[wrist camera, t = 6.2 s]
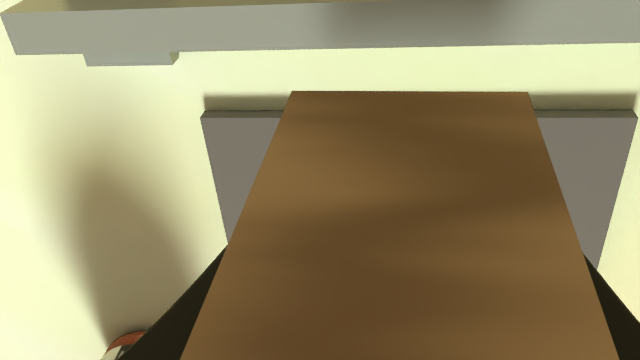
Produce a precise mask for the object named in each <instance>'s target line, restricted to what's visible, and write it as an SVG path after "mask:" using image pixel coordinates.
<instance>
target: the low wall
mask: <svg viewBox="0 0 640 360" xmlns="http://www.w3.org/2000/svg"><path fill="white" fill-rule="evenodd" d="M0 16H1V19H2V21H3V24H4V26H5V29H6V31H7V34H8V36H9V39H10V41H11V44H12V46H13V49H14V51H15V54H16V55H40V54H83V56H84V59H85V62H86V65H87V66H138V65H173V64H174V62H175V61H176V60H177V59H178V58H179V57H178V53H177V52H192V51H242V50H293V49H343V48H393V47H444V46H494V45H545V44H595V43H640V0H23V1H21V2H19V3H17V4H16V5H14V6H12V7H10V8H8V9H7V10H5V11H3V12H1V13H0Z"/></svg>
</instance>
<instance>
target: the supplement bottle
mask: <svg viewBox="0 0 640 360" xmlns="http://www.w3.org/2000/svg"><path fill="white" fill-rule="evenodd" d="M144 333H145V332H135V333H130V334H127V335H124V336H122V337H120V338H118V339H116V340H115V341H114V342H113V343H112V344H111V345H110V346H109V348H108V349H107V351H106V353H105V354H104V356H103V357H102V359H101V360H117V359H118V358H119V357H120V356H121V355H122V354H123V353H125V352H126V351H127V350H128V349H129V348H130V347H131V346H132V345H133V344H134V343H135V342H136V341H137V340H138V339H139V338H140V337H141V336H142V335H143V334H144Z"/></svg>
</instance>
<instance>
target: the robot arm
mask: <svg viewBox="0 0 640 360" xmlns="http://www.w3.org/2000/svg"><path fill="white" fill-rule="evenodd" d="M227 246H228V245H227ZM227 246H226V247H225V248H224V249H223V250H222V252H221V253H220V254H219V255H218V256H217V257H216V259H215V260H214V261H213V262H212V263H211V264H210V265H209V266H208V268H207V269H206V270H205V271H204V272H203V273H202V274H201V275H200V277H199V278H198V279H197V280H196V281H195V282H194V283H193V284H192V285H191V286H190V287H189V288H188V290H187V291H186V292H185V293H184V294H183V295H182V296H181V297H180V298H179V299H178V300H177V301H176V302H175V303H174V304H173V306H172V307H171V308H170V309H169V310H168V311H167V312H166V313H165V314H164V315H163V316H162V317H161V318H160V319H159V320H158V321H157V322H156V323H155V324H154V325H153V326H152V327H151V328H150V329H148V330H147V331H146V332H145V333H144V334H143V335H142V336H141V337H140V338H139V339H138V340H137V341H136V342H135V343H134V344H133V345H132V346H131V347H130V348H129V349H128V350H127V351H126V352H125V353H123V354H122V355H121V356H120V357H119V358H118V359H117V360H180V358H181V356H182V354H183V351H184V349H185V346H186V344H187V342H188V339H189V337H190V334H191V332H192V330H193V327H194V325H195V322H196V320H197V318H198V315H199V313H200V310H201V308H202V306H203V303H204V301H205V298H206V296H207V294H208V291H209V289H210V286H211V284H212V282H213V279H214V277H215V274H216V272H217V270H218V267H219V265H220V262H221V260H222V258H223V255H224V253H225V250H226V248H227ZM583 255H584V258H585V261H586V264H587V267H588V270H589V273H590V275H591V278H592V281H593V284H594V287H595V290H596V293H597V296H598V299H599V302H600V305H601V307H602V310H603V313H604V316H605V319H606V322H607V325H608V328H609V331H610V334H611V337H612V339H613V342H614V345H615V348H616V351H617V354H618V357H619V360H640V323H639V321H638V320H637V319H636V318H635V317H634V315H633V314H632V313H631V312H630V311H629V310H628V308H627V307H626V306H625V305H624V303H623V302H622V301H621V300H620V299H619V297H618V296H617V295H616V294H615V292H614V291H613V290H612V289H611V287H610V286H609V285H608V284H607V282H606V281H605V280H604V279H603V277H602V276H601V275H600V274H599V272H598V271H597V270H596V268H595V267H594V266H593V265H592V263H591V262H590V261H589V259H588V258H587V257H586V256H585V254H584V253H583Z"/></svg>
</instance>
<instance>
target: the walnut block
mask: <svg viewBox="0 0 640 360" xmlns="http://www.w3.org/2000/svg"><path fill="white" fill-rule="evenodd" d="M180 360H619V357H618V354H617V351H616V348H615V345H614V342H613V339H612V337H611V334H610V331H609V328H608V325H607V322H606V319H605V316H604V313H603V310H602V307H601V305H600V302H599V299H598V296H597V293H596V290H595V287H594V284H593V281H592V278H591V275H590V273H589V270H588V267H587V264H586V261H585V258H584V255H583V252H582V249H581V246H580V243H579V240H578V238H577V235H576V232H575V229H574V226H573V223H572V220H571V217H570V214H569V211H568V208H567V206H566V203H565V200H564V197H563V194H562V191H561V188H560V185H559V182H558V179H557V176H556V174H555V171H554V168H553V165H552V162H551V159H550V156H549V153H548V150H547V147H546V144H545V142H544V139H543V136H542V133H541V130H540V127H539V124H538V121H537V118H536V115H535V112H534V109H533V107H532V104H531V101H530V98H529V95H528V92H419V91H292V92H291V94H290V97H289V99H288V102H287V104H286V106H285V109H284V111H283V114H282V116H281V118H280V121H279V123H278V126H277V128H276V130H275V133H274V135H273V138H272V140H271V142H270V145H269V147H268V150H267V152H266V154H265V157H264V159H263V162H262V164H261V166H260V169H259V171H258V174H257V176H256V178H255V181H254V183H253V186H252V188H251V190H250V193H249V195H248V198H247V200H246V202H245V205H244V207H243V210H242V212H241V214H240V217H239V219H238V222H237V224H236V226H235V229H234V231H233V234H232V236H231V238H230V241H229V243H228V246H227V248H226V250H225V253H224V255H223V258H222V260H221V262H220V265H219V267H218V270H217V272H216V274H215V277H214V279H213V282H212V284H211V286H210V289H209V291H208V294H207V296H206V298H205V301H204V303H203V306H202V308H201V310H200V313H199V315H198V318H197V320H196V322H195V325H194V327H193V330H192V332H191V334H190V337H189V339H188V342H187V344H186V346H185V349H184V351H183V354H182V356H181V358H180Z"/></svg>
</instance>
